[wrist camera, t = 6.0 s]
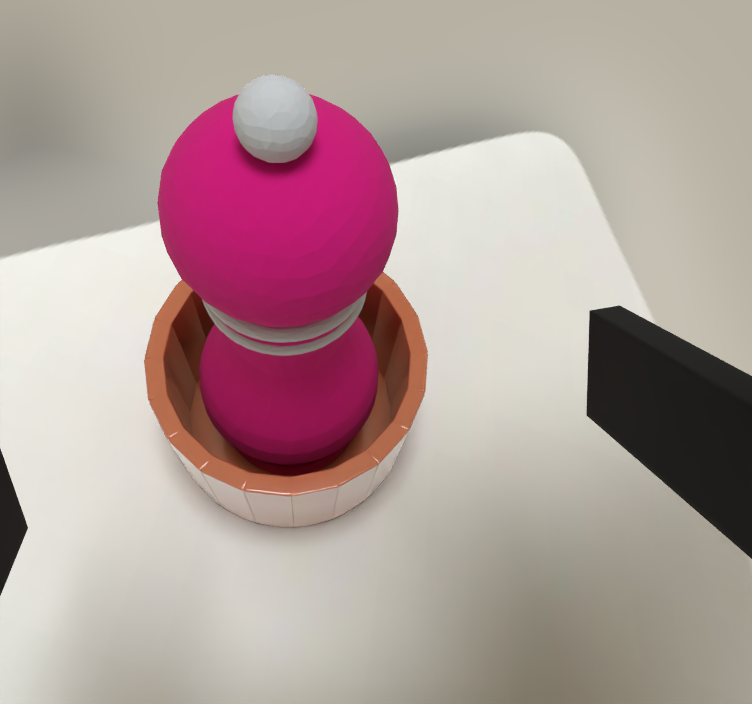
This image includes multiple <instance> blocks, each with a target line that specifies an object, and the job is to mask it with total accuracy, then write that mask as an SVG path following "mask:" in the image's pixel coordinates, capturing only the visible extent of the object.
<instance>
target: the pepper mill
mask: <svg viewBox="0 0 752 704" xmlns="http://www.w3.org/2000/svg"><path fill="white" fill-rule="evenodd" d="M158 210H159V218H160V226H161V234H162V238H163V241H164V244H165V247H166V250H167V253H168V255H169V256H170V258H171V260H172V262H173V264H174V266H175V268H176V269H177V271H178V273H179V275H180V277H181V279H182V280H183V281H184V282H185V283H186V284H187V285H188V286H190V287H191V288H192V289H193V290H194V291H195V292H196V293H197V294H198V295H199V296H200V297H201V298H202V301H203V303H204V306H205V308H206V310H207V312H208V314H209V316H210V318H211V319H212V320H213V322H214V323H215V324H214V326H213V327H212V329H211V331H210V332H209V335H208V337H207V340H206V342H205V345H204V348H203V351H202V354H201V360H200V366H199V376H200V389H201V395H202V399H203V403H204V406H205V409H206V412H207V414H208V416H209V418H210V420H211V422H212V424H213V425H214V427H215V428H216V429H217V430H218V432H219V433H220V434H221V435H222V437H223V438H224V439H225V440H227V441H228V442H229V443H230V444H231V445H232V446H234V447H235V448H236V449H237V451H238V452H239V453H240V454H241V455H242V456H243V457H244V458H245V459H246V460H248V461H249V462H250V463H252V464H253V465H255V466H257V467H258V468H260V469H263V470H265V471H267V472H271V473H275V474H281V475H301V474H306V473H310V472H313V471H316V470H319V469H321V468H323V467H325V466H327V465H328V464H330V463H331V462H332V461H334V460H335V459H336V458H337V457H338V456H339V455H340V454H341V453H342V452H343V451H344V450H345V449H346V448H347V446H348V445H349V443H350V442H351V440H352V439H353V438H354V437H355V435H356V434H357V433H358V432H359V431H360V430H361V429H362V427H363V426H364V424H365V422H366V421H367V419H368V418H369V416H370V413H371V411H372V409H373V406H374V403H375V399H376V395H377V387H378V369H379V367H378V361H377V354H376V350H375V347H374V345H373V342H372V339H371V337H370V335H369V333H368V331H367V329H366V327H365V326H364V324H363V322H362V321H361V319H360V318H359V317H358V315H359V313H360V312H361V310H362V307H363V305H364V302H365V298H366V294H367V290H368V289H369V288H370V287H371V286H372V284H373V283H374V282H375V281H376V280H377V278H378V277H379V276H380V275H381V274H382V272H383V270H384V268H385V265H386V263H387V261H388V258H389V256H390V253H391V249H392V246H393V243H394V240H395V237H396V232H397V221H398V201H397V190H396V185H395V181H394V178H393V175H392V172H391V169H390V165H389V163H388V161H387V159H386V157H385V155H384V153H383V151H382V150H381V148H380V147H379V145H378V144H377V142H376V141H375V139H374V138H373V136H372V135H371V133H370V132H369V131H368V130H367V129H366V128H365V127H364V126H363V125H361V124H360V123H359V122H358V121H357V120H356V119H355V118H354V117H353V116H351V115H350V114H349V113H347V112H346V111H345V110H343V109H342V108H340V107H338V106H335V105H333V104H332V103H330V102H327V101H325V100H323V99H321V98H319V97H316V96H313V95H310V94H308V93H307V92H306V90H305V89H304V87H303V86H301V85H300V84H299V83H297V82H295V81H294V80H292V79H290V78H288V77H285V76H281V75H265V76H261V77H259V78H257V79H255V80H253V81H251V82H249V83H248V84H247V85H246V86H245V87H244V88H243V90H242V91H241V92H240V93H239V94H238V95H236V96H233V97H231V98H228V99H226V100H223V101H221V102H219V103H217V104H216V105H214V106H213V107H211V108H209V109H208V110H206V111H205V112H203V113H202V114H201V115H200V116H199V117H197V119H195V120H194V121H193V122H192V123H191V124H190V125H189V126H188V127H187V128H186V130H185V131H184V132H183V133H182V135H181V136H180V137H179V138H178V140H177V141H176V143H175V145H174V146H173V148H172V150H171V152H170V155H169V156H168V159H167V161H166V163H165V165H164V167H163V169H162V173H161V181H160V188H159V196H158Z"/></svg>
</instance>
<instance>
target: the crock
mask: <svg viewBox="0 0 752 704" xmlns="http://www.w3.org/2000/svg"><path fill="white" fill-rule="evenodd" d="M358 317H359V318H360V319H361V321H362V322H363V324H364V326H365V327H366V329H367V331H368V333H369V335H370V337H371V339H372V342H373V345H374V347H375V350H376V354H377V361H378V367H379V369H378V387H377V395H376V399H375V403H374V406H373V409H372V411H371V413H370V416H369V418H368V419H367V421H366V422H365V424H364V426H363V427H362V429H361V430H360V431H359V432H358V433H357V434H356V435H355V437H354V438H353V439H352V440H351V442H350V443H349V445H348V446H347V448H346V449H345V450H344V451H343V452H342V453H341V454H340V455H339V456H338V457H337V458H336V459H335V460H334V461H332V462H331V463H330V464H328V465H327V466H325V467H323V468H321V469H319V470H316V471H313V472H310V473H306V474H301V475H281V474H275V473H271V472H267V471H265V470H263V469H260V468H258V467H257V466H255V465H253V464H252V463H250V462H249V461H248V460H246V459H245V458H244V457H243V456H242V455H241V454H240V453H239V452H238V451H237V449H236V448H235V447H234V446H232V445H231V444H230V443H229V442H228V441H227V440H225V439H224V438H223V437H222V435H221V434H220V433H219V432H218V430H217V429H216V428H215V427H214V425H213V424H212V422H211V420H210V418H209V416H208V414H207V412H206V409H205V406H204V403H203V399H202V395H201V389H200V376H199V366H200V360H201V354H202V351H203V348H204V345H205V342H206V340H207V337H208V335H209V332H210V331H211V329H212V327H213V326H214V324H215V323H214V322H213V320H212V319H211V318H210V316H209V314H208V312H207V310H206V308H205V306H204V303H203V301H202V298H201V297H200V296H199V295H198V294H197V293H196V292H195V291H194V290H193V289H192V288H191V287H190V286H188V285H187V284H186V283H185V282H184V281H183V280H181V281H180V282H179V283H178V284H177V285H176V286H175V288H174V289H173V291H172V292H171V294H170V295H169V297H168V298H167V300H166V302H165V303H164V305H163V306H162V308H161V309H160V311H159V312H158V314H157V315H156V317H155V320H154V323H153V327H152V331H151V335H150V339H149V342H148V346H147V350H146V354H145V360H144V364H145V373H146V383H147V393H148V400H149V403H150V405H151V407H152V410H153V412H154V414H155V416H156V418H157V420H158V422H159V424H160V426H161V428H162V430H163V432H164V434H165V436H166V438H167V440H168V441H169V443H170V444H171V446H172V447H173V449H174V450H175V452H176V453H177V455H178V456H179V458H180V459H181V461H182V462H183V464H184V465H185V467H186V468H187V470H188V471H189V473H190V474H191V476H192V477H193V479H194V480H195V482H196V483H197V484H198V485H199V486H200V487H201V488H203V490H204V491H205V492H206V493H207V494H208V495H209V496H210V497H211V498H212V499H213V500H214V501H216V502H217V503H218V504H219V505H220V506H222V507H223V508H225V509H227V510H228V511H230V512H232V513H234V514H236V515H238V516H240V517H242V518H244V519H247V520H250V521H253V522H256V523H259V524H264V525H269V526H277V527H301V526H308V525H313V524H318V523H322V522H325V521H327V520H330V519H333V518H336V517H338V516H340V515H342V514H344V513H346V512H348V511H349V510H351V509H352V508H354V507H355V506H357V505H358V504H360V503H361V502H362V501H364V500H365V499H366V498H367V497H368V496H369V495H370V494H372V493H373V491H374V490H375V489H376V488H377V487H378V486H379V485H380V483H381V482H382V481H383V479H384V478H385V477H386V476H387V475H388V474H389V472H390V470H391V468H392V466H393V464H394V462H395V460H396V458H397V455H398V453H399V451H400V449H401V447H402V445H403V443H404V441H405V438H406V436H407V434H408V432H409V430H410V428H411V425H412V423H413V421H414V418H415V416H416V414H417V411H418V409H419V407H420V404H421V402H422V400H423V397H424V393H425V389H426V374H427V359H428V354H427V353H428V351H427V347H426V344H425V340H424V336H423V333H422V329H421V325H420V322H419V318H418V315H416V312H415V311H414V309H413V308H412V306H411V305H410V303H409V302H408V300H407V299H406V297H405V296H404V294H403V293H402V291H401V290H400V288H399V287H398V285H397V284H396V283H395V282H394V280H392V279H391V278H390V277H389V276H387V275H386V274H385V273H384V272H382V274H381V275H380V276H379V277H378V278H377V280H376V281H375V282H374V283H373V284H372V286H371V287H370V288H369V289H368V290H367V294H366V298H365V302H364V305H363V307H362V310H361V312H360V313H359V315H358Z"/></svg>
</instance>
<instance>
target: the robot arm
mask: <svg viewBox="0 0 752 704" xmlns="http://www.w3.org/2000/svg"><path fill="white" fill-rule="evenodd" d="M587 416H588V417H589V418H590V419H592V420H593V421H594V422H595V423H596V424H597V425H598V426H600V427H601V428H602V429H603V430H604V431H605V432H606V433H608V434H609V435H610V436H611V437H612V438H613V439H615V440H616V441H617V442H618V443H619V444H620V445H621V446H623V447H624V448H625V449H626V450H627V451H628V452H629V453H631V454H632V455H633V456H634V457H635V458H636V459H638V460H639V461H640V462H641V463H642V464H643V465H644V466H646V467H647V468H648V469H649V470H650V471H651V472H652V473H654V474H655V475H656V476H657V477H658V478H659V479H661V480H662V481H663V482H664V483H665V484H666V485H667V486H669V487H670V488H671V489H672V490H673V491H674V492H676V493H677V494H678V495H679V496H680V497H681V498H682V499H684V500H685V501H686V502H687V503H688V504H689V505H690V506H692V507H693V508H694V509H695V510H696V511H697V512H699V513H700V514H701V515H702V516H703V517H704V518H705V519H707V520H708V521H709V522H710V523H711V524H712V525H713V526H715V527H716V528H717V529H718V530H719V531H720V532H722V533H723V534H724V535H725V536H726V537H727V538H728V539H730V540H731V541H732V542H733V543H734V544H735V545H736V546H738V547H739V548H740V549H741V550H742V551H743V552H745V553H746V554H747V555H748V556H749V557H750V558H751V559H752V376H750V375H749V374H746V373H745V372H743V371H741V370H739V369H737V368H735V367H734V366H732V365H730V364H728V363H726V362H724V361H722V360H720V359H719V358H717V357H715V356H713V355H711V354H709V353H707V352H706V351H704V350H702V349H700V348H698V347H696V346H694V345H692V344H691V343H689V342H687V341H685V340H683V339H681V338H679V337H677V336H676V335H674V334H672V333H670V332H668V331H666V330H664V329H662V328H661V327H659V326H657V325H655V324H653V323H651V322H649V321H647V320H646V319H644V318H642V317H640V316H638V315H636V314H634V313H632V312H631V311H629V310H627V309H625V308H623V307H621V306H614V307H609V308H603V309H597V310H591V311H590V320H589V353H588V385H587ZM27 529H28V527H27V524H26V521H25V518H24V515H23V512H22V509H21V506H20V504H19V501H18V498H17V495H16V492H15V489H14V486H13V483H12V481H11V478H10V475H9V472H8V469H7V466H6V463H5V461H4V458H3V455H2V452H1V449H0V595H1V593H2V590H3V588H4V585H5V583H6V581H7V578H8V576H9V573H10V571H11V568H12V566H13V563H14V561H15V558H16V556H17V553H18V551H19V548H20V546H21V544H22V541H23V539H24V536H25V534H26V531H27Z"/></svg>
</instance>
